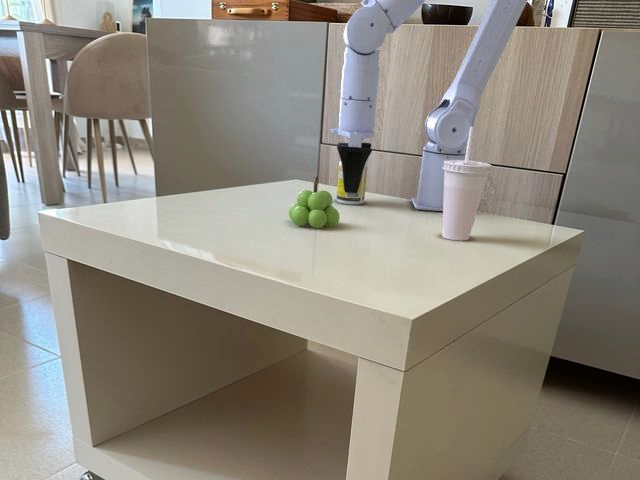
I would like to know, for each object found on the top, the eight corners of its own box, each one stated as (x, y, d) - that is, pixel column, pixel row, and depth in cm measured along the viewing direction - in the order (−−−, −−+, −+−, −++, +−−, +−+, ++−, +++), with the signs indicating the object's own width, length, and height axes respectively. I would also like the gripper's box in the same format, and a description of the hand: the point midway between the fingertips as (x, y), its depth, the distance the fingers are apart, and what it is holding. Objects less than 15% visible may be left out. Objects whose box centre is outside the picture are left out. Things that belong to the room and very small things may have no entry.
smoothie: (426, 237, 86) (442, 124, 79) (440, 230, 91) (457, 123, 84) (471, 245, 84) (492, 129, 77) (483, 237, 89) (504, 128, 82)
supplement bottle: (348, 199, 110) (352, 147, 106) (369, 203, 107) (374, 150, 103) (330, 201, 107) (334, 147, 103) (352, 205, 104) (356, 151, 100)
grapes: (285, 218, 91) (287, 171, 88) (330, 219, 93) (334, 173, 90) (294, 229, 85) (296, 179, 82) (342, 230, 86) (346, 181, 83)
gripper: (334, 97, 106) (329, 182, 113) (331, 99, 93) (325, 194, 100) (376, 100, 106) (368, 185, 112) (379, 102, 93) (369, 198, 100)
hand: (351, 190), depth 106 cm, fingers closed on supplement bottle, 5 cm apart
